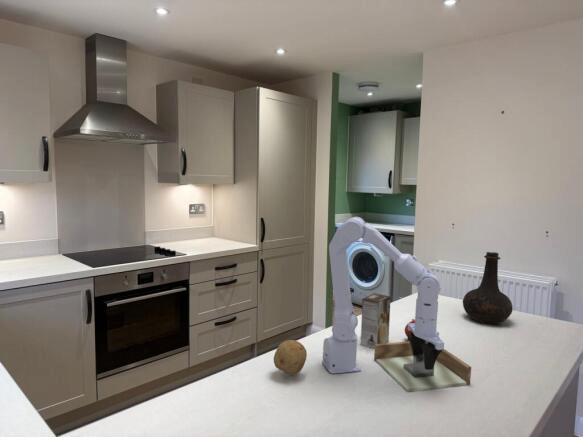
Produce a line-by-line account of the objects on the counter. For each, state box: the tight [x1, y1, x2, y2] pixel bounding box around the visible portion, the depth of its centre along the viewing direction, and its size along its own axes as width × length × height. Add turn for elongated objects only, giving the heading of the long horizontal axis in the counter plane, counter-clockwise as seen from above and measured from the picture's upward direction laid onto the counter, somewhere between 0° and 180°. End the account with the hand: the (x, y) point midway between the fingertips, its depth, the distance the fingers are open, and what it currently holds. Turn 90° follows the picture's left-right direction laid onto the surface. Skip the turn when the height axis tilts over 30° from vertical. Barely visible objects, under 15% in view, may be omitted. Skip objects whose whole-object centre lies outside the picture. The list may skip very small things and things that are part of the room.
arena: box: [373, 340, 472, 393], centre depth 116 cm, size 19×19×5 cm
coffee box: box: [360, 292, 392, 350], centre depth 135 cm, size 9×6×16 cm
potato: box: [273, 339, 308, 377], centre depth 112 cm, size 9×9×10 cm
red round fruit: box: [404, 318, 415, 337], centre depth 138 cm, size 6×6×8 cm
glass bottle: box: [462, 251, 513, 325], centre depth 162 cm, size 18×18×28 cm
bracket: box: [403, 354, 434, 378], centre depth 114 cm, size 6×6×6 cm
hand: (423, 364), depth 112 cm, fingers open, 5 cm apart
